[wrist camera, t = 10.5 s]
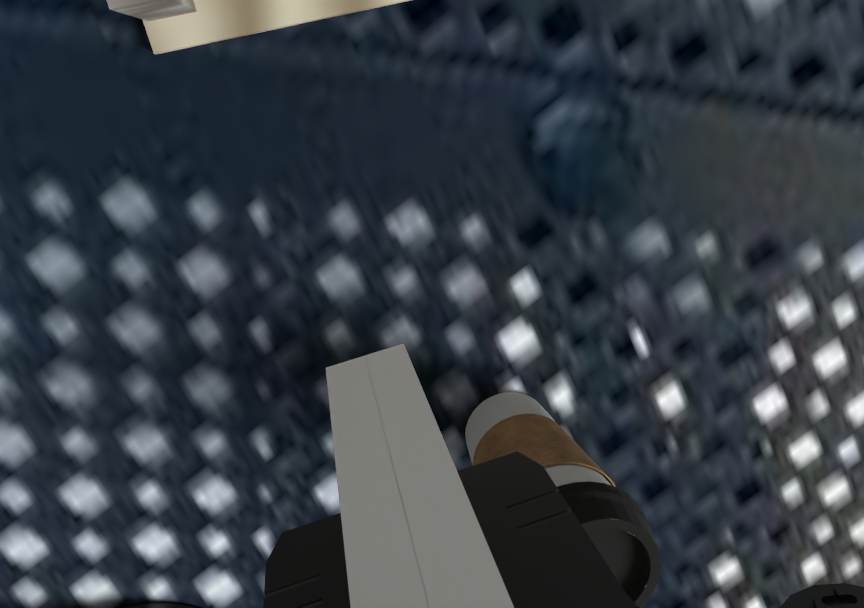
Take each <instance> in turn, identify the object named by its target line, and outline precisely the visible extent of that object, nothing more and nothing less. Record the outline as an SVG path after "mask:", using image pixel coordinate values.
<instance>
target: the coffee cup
mask: <svg viewBox="0 0 864 608" xmlns="http://www.w3.org/2000/svg"><path fill="white" fill-rule="evenodd" d="M465 437H466V444H467V447H468V451H469V455H470V458H471V462H472V465H473V466H474V465H477V464H480V463H483V462H486V461H489V460H492V459H495V458H498V457H501V456H504V455H507V454H510V453H513V452H516V451H518V452H519V453H521V454H523V455H525V456H526V457H528V458H530V459H532V460H533V461H535V462H537V463H539V464H540V465H542V466H543V467H544V468H545V470H546V471H547V473H548V474H549V476H550V477H551V479H552V481H553V482H554V484H555V485H556V487H557V488H558V491H559V493H560V494H562V496H563V497H564V499H565V500H566V502H567V504H568V505H569V507H570V508H571V511H572V513H573V514H575V516H576V517H577V519H578V520H579V522H580V524H581V525H582V527H583V528H584V530H585V531H586V533H587V534H588V536H589V537H590V539H591V540H592V542H593V543H594V545H595V547H596V548H597V550H598V551H599V553H600V554H601V556H602V557H603V559H604V560H605V562H606V563H607V565H608V567H609V568H610V570H611V571H612V573H613V574H614V576H615V577H616V579H617V580H618V582H619V583H620V585H621V586H622V588H623V590H624V591H625V592H626V594H627V595H628V596H629V597H630V598H631V599H632V601H633V602H634V603H635V604H636V605H637V606H638V607H641V606H642V605H643V604H644V603H645V602H646V601H647V599H648V598H649V596H650V595H651V593H652V592H653V590H654V588H655V586H656V584H657V581H658V579H659V574H660V569H661V558H660V553H659V550H658V547H657V544H656V542H655V540H654V538H653V535H652V531H651V528H650V524H649V522H648V520H647V518H646V517H645V515H644V513H643V512H642V511H641V509H640V507H639V506H638V504H637V503H636V502H635V501H634V499H633V498H632V497H631V496H630V495H629V494H627V493H625V492H624V491H622V490H621V489H619V488H617V487H616V486H615V484H614V483H613V481H612V480H611V479H610V478H609V477H608V476H607V475H606V474H605V473H604V472H603V471H602V470H601V469H600V468H599V466H598V465H597V464H596V463H595V462H594V461H593V460H592V459H591V458H590V457H589V456H588V455H587V454H586V453H585V452H584V451H583V450H582V449H581V448H580V447H579V446H578V444H577V443H576V442H575V441H574V440H573V439H572V438H571V437H570V436H569V435H568V434H567V433H566V432H565V431H564V430H563V429H562V428H561V427H560V426H559V425H558V424H557V423H556V422H555V421H554V420H553V419H552V417H551V416H550V415H549V414H548V413H547V412H546V411H545V409H544V408H543V407H542V406H541V405H540V404H539V403H538V402H537V401H536V400H535V399H533V398H532V397H530V396H528V395H525V394H523V393H517V392H505V393H500V394H497V395H494V396H491V397H489V398H488V399H486V400H484V401H483V402H482V403H481V404H480V405H478V406H477V407H476V409H475V410H474V411H473V412H472V414H471V416H470V418H469V419H468V422H467V425H466V431H465Z"/></svg>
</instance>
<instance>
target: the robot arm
mask: <svg viewBox="0 0 864 608" xmlns="http://www.w3.org/2000/svg"><path fill="white" fill-rule="evenodd" d="M326 377H327V387H328V396H329V406H330V415H331V425H332V435H333V444H334V454H335V463H336V473H337V482H338V492H339V502H340V511H341V513H339V514H336V515H333V516H330V517H327V518H324V519H321V520H318V521H315V522H312V523H309V524H306V525H303V526H301V527H298V528H295V529H292V530H289V531H286V532H283V533H282V534H281V536H280V538H279V540H278V542H277V544H276V545H275V547H274V549H273V551H272V553H271V555H270V557H269V559H268V560H267V562H266V575H265V591H264V593H265V597H266V599H264V607H263V608H640V607H638V606H637V605H636V604H635V603H634V602H633V601H632V599H631V598H630V597H629V596H628V595H627V594H626V592H625V591H624V590H623V588H622V586H621V585H620V583H619V582H618V580H617V579H616V577H615V576H614V574H613V573H612V571H611V570H610V568H609V567H608V565H607V563H606V562H605V560H604V559H603V557H602V556H601V554H600V553H599V551H598V550H597V548H596V547H595V545H594V543H593V542H592V540H591V539H590V537H589V536H588V534H587V533H586V531H585V530H584V528H583V527H582V525H581V524H580V522H579V520H578V519H577V517H576V516H575V514H573V513H572V511H571V508H570V507H569V505H568V504H567V502H566V500H565V499H564V497H563V496H562V494H560V493H559V491H558V488H557V487H556V485H555V484H554V482H553V481H552V479H551V477H550V476H549V474H548V473H547V471H546V470H545V468H544V467H543V466H542V465H540V464H539V463H537V462H535V461H533V460H532V459H530V458H528V457H526V456H525V455H523V454H521V453H519V452H518V451H516V452H513V453H510V454H507V455H504V456H501V457H498V458H495V459H492V460H489V461H486V462H483V463H480V464H477V465H474V466H471V467H469V468H466V469H463V470H460V471H457V470H456V468H455V465H454V463H453V460H452V458H451V456H450V453H449V451H448V448H447V446H446V444H445V441H444V439H443V436H442V434H441V432H440V429H439V427H438V425H437V422H436V420H435V417H434V415H433V413H432V410H431V408H430V405H429V403H428V401H427V398H426V396H425V393H424V391H423V389H422V386H421V384H420V382H419V379H418V377H417V374H416V372H415V370H414V367H413V365H412V362H411V360H410V358H409V355H408V353H407V350H406V348H405V346H404V343H403V344H400V345H397V346H394V347H391V348H387V349H384V350H381V351H378V352H375V353H371V354H368V355H365V356H362V357H359V358H355V359H352V360H349V361H346V362H343V363H339V364H336V365H333V366H330V367H326ZM124 608H196V607H191V606H186V605H180V604H169V603H151V604H141V605H134V606H129V607H124ZM780 608H864V587H861V586H856V585H851V584H846V583H842V584H826V585H814V586H811V587H809V588H807V589H804V590H802V591H800V592H797V593H795V594H792V595H790V596H789V598H788V599H787V600H786V601H785V602H784V603H783V605H782V606H781V607H780Z"/></svg>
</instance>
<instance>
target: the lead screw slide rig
mask: <svg viewBox="0 0 864 608" xmlns="http://www.w3.org/2000/svg"><path fill="white" fill-rule="evenodd" d="M406 1H411V0H107V3H108V6H109V9H110V10H113V11H117V12H120V13H123V14H126V15H130V16H133V17H136V18H140V19H142V20H143V23H144V26H145V29H146V32H147V35H148V38H149V41H150V44H151V47H152V50H153V53H154V54H161V53H166V52H171V51H175V50H180V49H185V48H189V47H194V46H199V45H204V44H208V43H213V42H218V41H222V40H227V39H232V38H237V37H241V36H246V35H251V34H255V33H260V32H265V31H269V30H274V29H279V28H284V27H288V26H293V25H298V24H302V23H307V22H312V21H317V20H321V19H326V18H331V17H335V16H340V15H345V14H349V13H354V12H359V11H364V10H368V9H373V8H378V7H382V6H387V5H392V4H397V3H401V2H406Z"/></svg>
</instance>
